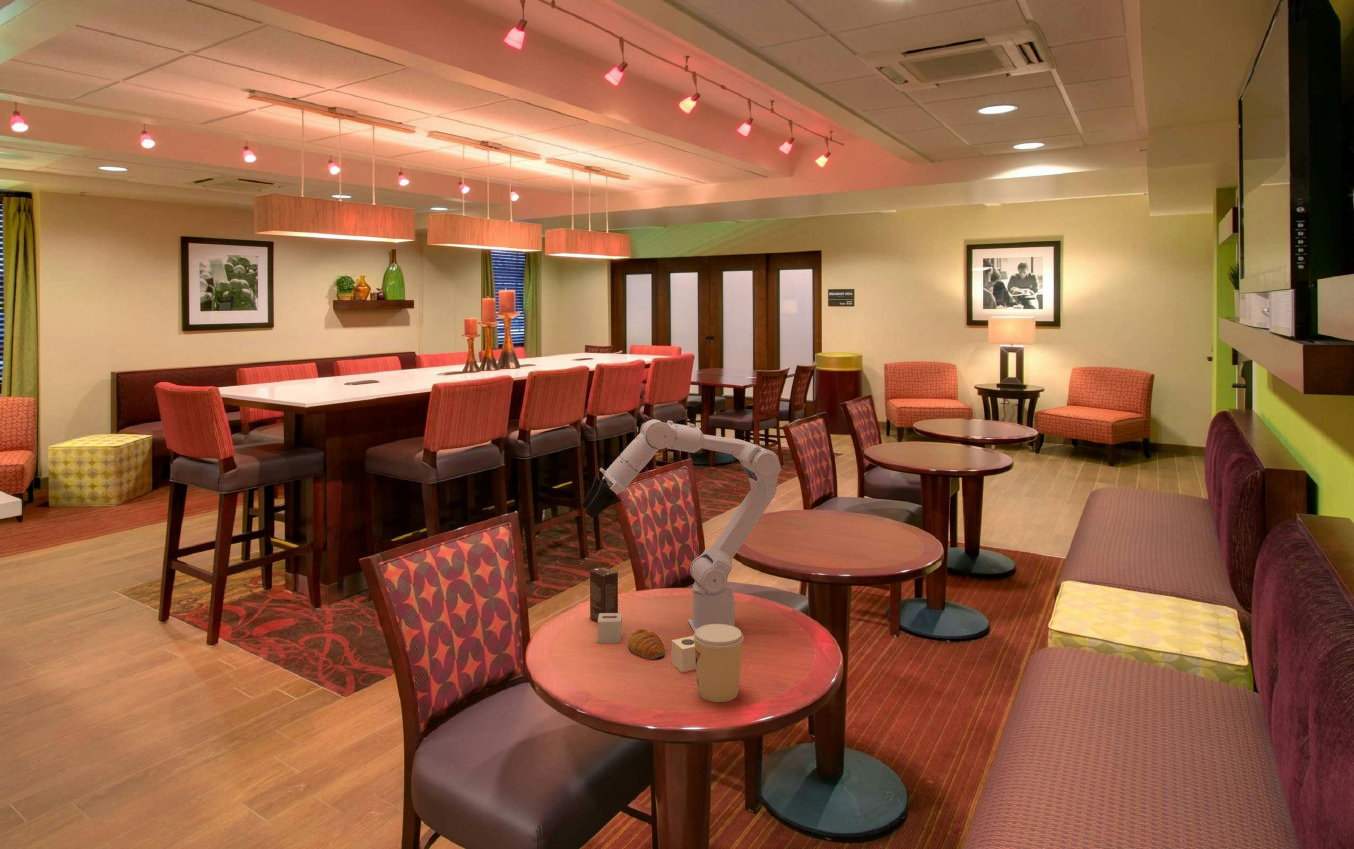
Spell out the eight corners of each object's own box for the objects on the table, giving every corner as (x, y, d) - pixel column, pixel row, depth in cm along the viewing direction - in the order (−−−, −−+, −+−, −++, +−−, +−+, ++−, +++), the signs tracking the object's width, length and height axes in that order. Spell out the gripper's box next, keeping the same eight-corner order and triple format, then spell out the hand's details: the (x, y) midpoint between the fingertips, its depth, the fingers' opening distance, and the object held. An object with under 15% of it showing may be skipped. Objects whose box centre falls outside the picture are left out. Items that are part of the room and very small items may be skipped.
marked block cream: (692, 658, 167) (692, 635, 167) (704, 667, 163) (704, 643, 162) (671, 663, 165) (671, 639, 164) (682, 672, 161) (682, 648, 160)
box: (619, 621, 187) (618, 572, 186) (603, 626, 185) (602, 576, 183) (604, 614, 192) (604, 565, 190) (589, 618, 189) (588, 569, 188)
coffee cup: (703, 678, 158) (703, 620, 156) (748, 686, 154) (749, 627, 153) (686, 699, 149) (686, 637, 148) (733, 708, 146) (734, 645, 144)
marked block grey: (621, 634, 180) (621, 612, 180) (620, 643, 175) (620, 620, 175) (599, 634, 180) (599, 612, 179) (597, 643, 175) (597, 621, 174)
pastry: (673, 656, 169) (672, 639, 168) (645, 664, 165) (644, 646, 164) (651, 641, 176) (650, 625, 176) (623, 648, 173) (623, 631, 172)
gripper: (610, 448, 180) (570, 494, 179) (620, 456, 166) (576, 506, 165) (633, 469, 182) (593, 514, 181) (644, 478, 168) (601, 527, 167)
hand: (586, 511), depth 173 cm, fingers open, 7 cm apart
